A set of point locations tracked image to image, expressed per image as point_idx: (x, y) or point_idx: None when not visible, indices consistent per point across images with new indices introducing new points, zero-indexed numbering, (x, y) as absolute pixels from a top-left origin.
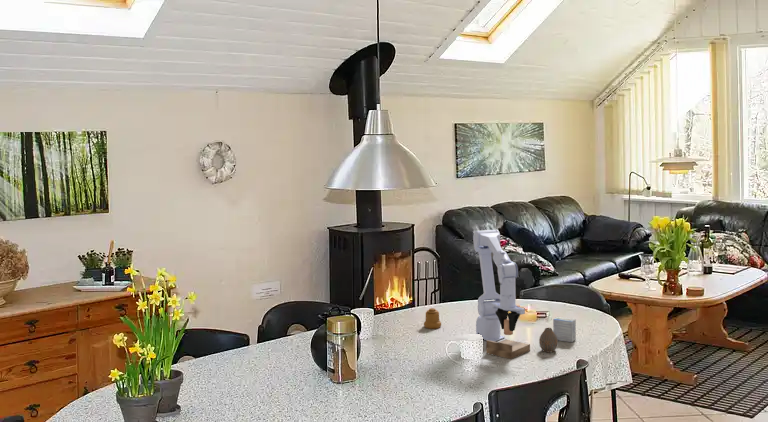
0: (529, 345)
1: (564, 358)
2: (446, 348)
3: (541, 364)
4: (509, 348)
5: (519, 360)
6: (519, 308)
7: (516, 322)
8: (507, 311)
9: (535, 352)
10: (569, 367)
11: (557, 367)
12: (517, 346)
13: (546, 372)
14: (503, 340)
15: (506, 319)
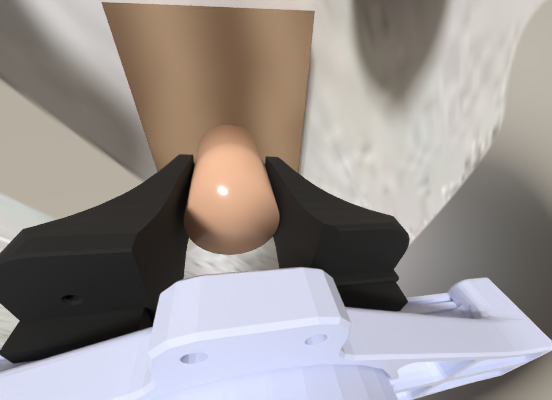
0: (311, 18)
1: (491, 24)
2: (3, 239)
3: (404, 157)
4: None
5: (322, 171)
6: (472, 375)
7: (308, 183)
8: (149, 246)
9: (340, 23)
10: (499, 123)
11: (458, 149)
12: (274, 106)
13: (427, 201)
14: (119, 47)
15: (212, 229)
